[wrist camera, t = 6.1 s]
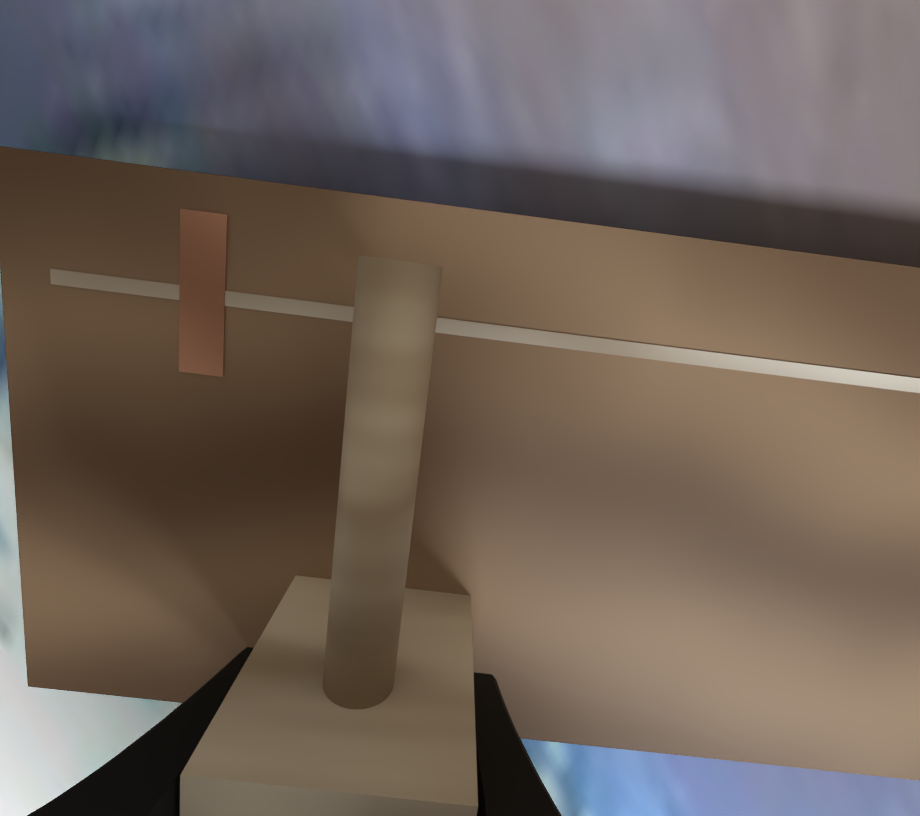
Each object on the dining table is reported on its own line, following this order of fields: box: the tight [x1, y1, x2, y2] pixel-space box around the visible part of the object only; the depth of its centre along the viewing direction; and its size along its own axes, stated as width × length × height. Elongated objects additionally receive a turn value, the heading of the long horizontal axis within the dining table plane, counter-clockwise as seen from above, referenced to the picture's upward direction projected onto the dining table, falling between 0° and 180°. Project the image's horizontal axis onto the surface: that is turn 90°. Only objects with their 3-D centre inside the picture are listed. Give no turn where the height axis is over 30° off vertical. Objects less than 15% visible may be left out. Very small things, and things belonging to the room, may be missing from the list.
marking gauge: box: [180, 256, 478, 816], centre depth 10 cm, size 12×5×6 cm, turn 173°
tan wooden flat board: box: [0, 146, 920, 780], centre depth 12 cm, size 12×24×2 cm, turn 83°
